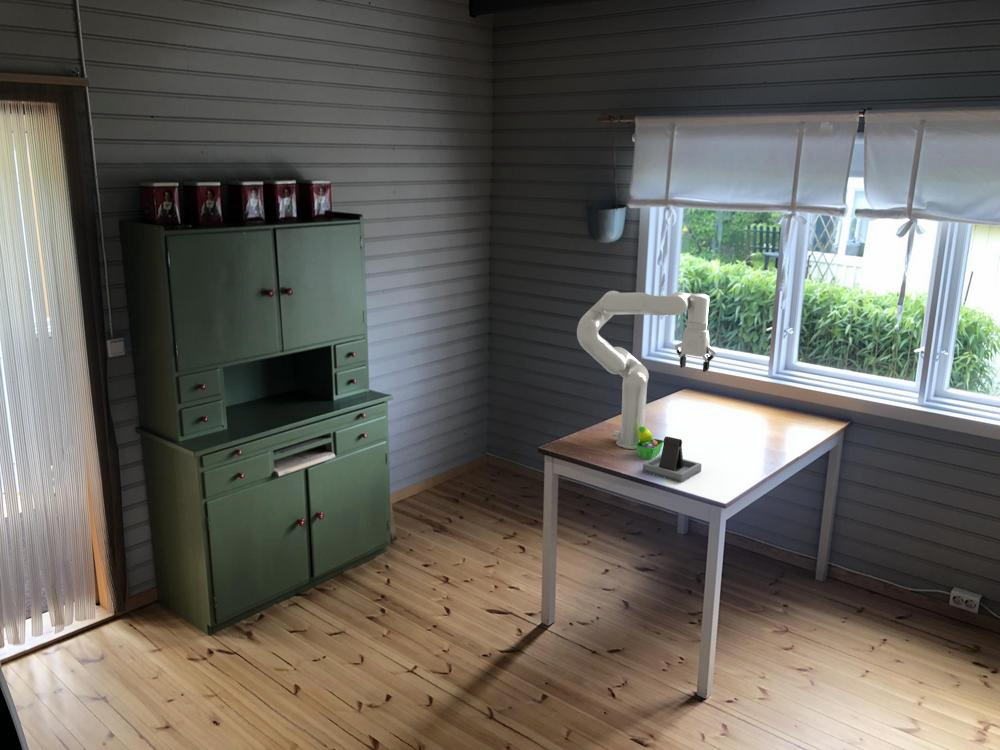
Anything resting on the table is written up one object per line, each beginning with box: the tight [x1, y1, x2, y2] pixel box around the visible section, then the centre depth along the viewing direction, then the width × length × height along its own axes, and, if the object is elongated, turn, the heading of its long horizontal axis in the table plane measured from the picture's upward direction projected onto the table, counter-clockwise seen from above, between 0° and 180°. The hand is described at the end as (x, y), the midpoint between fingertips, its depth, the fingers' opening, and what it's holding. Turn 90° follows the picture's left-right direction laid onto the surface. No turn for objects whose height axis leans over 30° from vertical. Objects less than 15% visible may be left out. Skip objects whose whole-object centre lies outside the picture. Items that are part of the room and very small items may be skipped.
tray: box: [642, 454, 702, 483], centre depth 297 cm, size 16×15×3 cm
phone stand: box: [659, 436, 684, 472], centre depth 296 cm, size 9×6×12 cm, turn 143°
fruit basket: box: [636, 426, 664, 460], centre depth 313 cm, size 11×9×11 cm
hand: (694, 369), depth 313 cm, fingers open, 9 cm apart
